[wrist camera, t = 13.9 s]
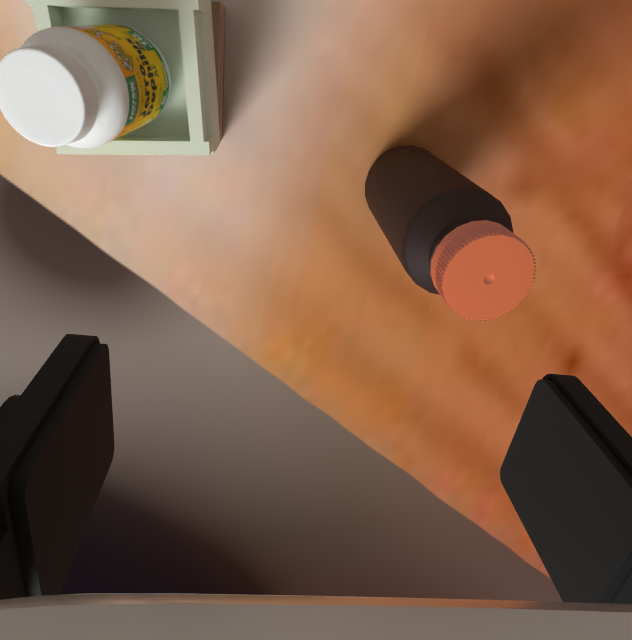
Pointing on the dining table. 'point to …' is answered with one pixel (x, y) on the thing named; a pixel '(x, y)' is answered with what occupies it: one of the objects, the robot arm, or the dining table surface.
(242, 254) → the dining table surface
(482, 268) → the vinegar
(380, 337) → the dining table surface
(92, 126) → the supplement bottle
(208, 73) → the small green shelf
